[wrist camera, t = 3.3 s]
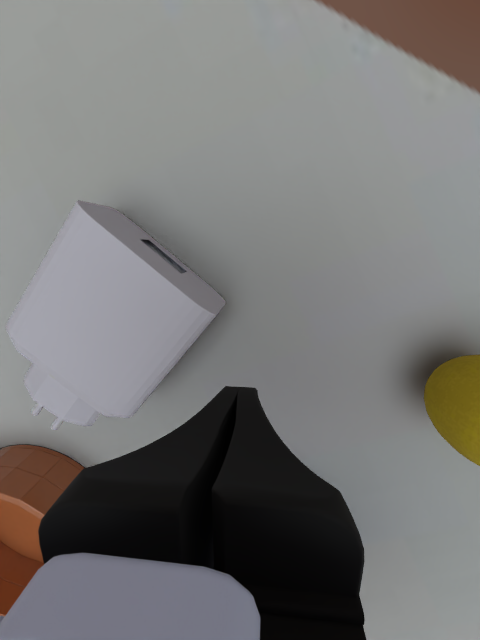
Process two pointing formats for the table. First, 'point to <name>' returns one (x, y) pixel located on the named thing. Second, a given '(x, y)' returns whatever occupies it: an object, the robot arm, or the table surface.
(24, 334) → the charger
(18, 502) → the pan
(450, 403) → the lemon
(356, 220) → the table surface
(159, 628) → the robot arm
